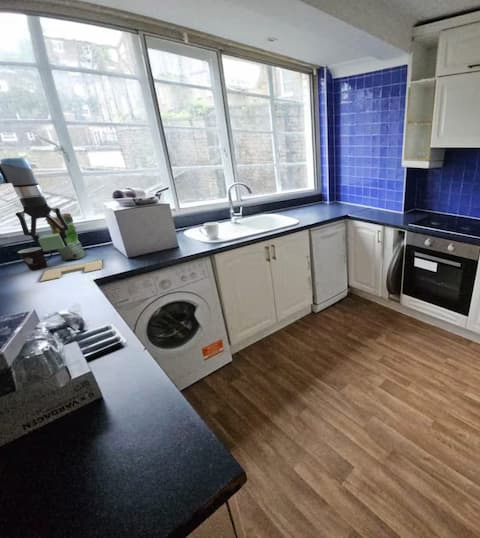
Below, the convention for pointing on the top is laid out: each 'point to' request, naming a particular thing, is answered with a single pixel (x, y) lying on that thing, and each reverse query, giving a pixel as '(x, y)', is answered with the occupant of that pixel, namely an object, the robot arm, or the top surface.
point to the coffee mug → (34, 258)
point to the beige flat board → (58, 272)
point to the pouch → (68, 239)
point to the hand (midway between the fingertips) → (55, 247)
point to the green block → (51, 242)
